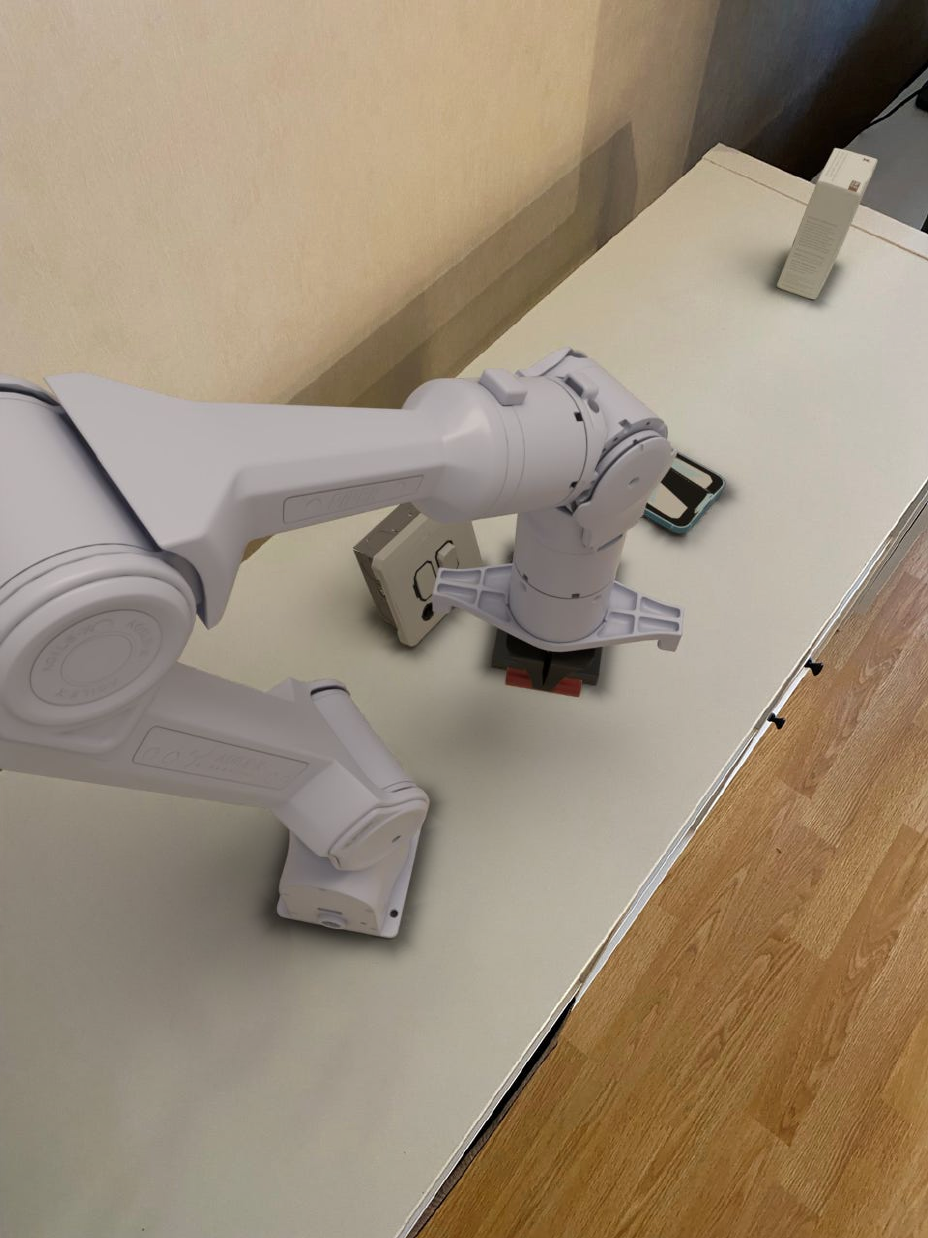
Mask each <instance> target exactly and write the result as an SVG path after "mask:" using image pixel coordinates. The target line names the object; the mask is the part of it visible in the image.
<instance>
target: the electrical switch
mask: <svg viewBox="0 0 928 1238" xmlns="http://www.w3.org/2000/svg"><path fill="white" fill-rule="evenodd" d="M352 549H353V550H352V551H353V554H354V556H355V559H356V561H357V564H358V566H359V568H360V571H361V573H362V576H363V578H364V581H365V584H366V587H367V589H368V591H369V593H370V596H371V598H372V600H373V603H374V606H375V608H376V611H377V613H378V615H379V618H380V620H382V621H384V622H386V623H388V624H390V625H391V626H393V627H394V628H395V629H396V630H397V631H396V633H397V636H398V639H399V641H400V643H402V644H404V645H406V646H409V647H415V646H416V645H418V644H419V643H420V642H421V640H422V639H423V638H425V636H426V635H428V634H429V632H431V630H432V629H434V627H435V626H436V625H437V624H438V623H439V622H440V621H441V620H442V619H443V618H444V617H445V616H446V615H447V614H445V613H439V612H433V597H432V593H433V589H434V585H435V581H436V577H437V573H438V569H439V568H440V567H441V568H449V569H469V568H478V567H485V566H484V561H483V559H482V556H481V551H480V548H479V544H478V541H477V536H476V532H475V529H474V525H473V521H467V522H461V523H454V524H443V523H439V522H436V521H434V520H431V519H429V518H428V517H426V516H425V515H423V514H422V513H421V512H420V511H419V510H417V509H416V508H415V506H414V505H413V504H412V503H411V502H407V503H403V504H398V505H397V506H396V507H395V508H394V509H393V510H392V511H391V512H390V513H389V514H388V515H387V516H385V517H384V518H383V519H382V520H381V521H380V522H379V523H378V524H377V525H375V527H374V528H373V529H371V530H370V531H369V532H368V533H367V534H366V535H365V536H364V537H363V538H362V539H360V540H359V542H357V543H356V544H355V545H354V546H353V547H352ZM382 592H383V593H382ZM453 607H454V606H452V608H453Z"/></svg>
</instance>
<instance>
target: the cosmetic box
mask: <svg viewBox="0 0 928 1238" xmlns="http://www.w3.org/2000/svg"><path fill="white" fill-rule="evenodd" d="M877 164H878V159H877V158H874V157H872V156H869V155H865V154H861V153H858V152H854V151H850V150H847V149H843V148H837V147H834V148H833V149H832V152H831V154H830V156H829V158H828V160H827V162H826V163H825V165H824V167H823V168H822V171H821V173H820V175H819V176H818V178H817V181H816V183H815V185H814V189H813V190H812V194H811V196H810V198H809V201H808V203H807V205H806V207H805V211H804V213H803V216H802V218H801V221H800V224H799V227H798V229H797V231H796V234H795V236H794V239H793V242H792V244H791V247H790V250H789V252H788V255H787V257H786V260H785V263H784V265H783V268H782V271H781V273H780V276H779V278H778V281H777V283H776V287H777V288H779V289H781V290H784V291H785V292H788V293H791V294H794V295H797V296H800V297H803V298H807V299H809V300H816V299H817V298H818V296H819V295H820V293H821V290H822V289H823V287H824V285H825V283H826V281H827V279H828V277H829V275H830V273H831V271H832V269H833V267H834V265H835V262H836V260H837V258H838V257H839V254H840V251H841V249H842V247H843V244H844V242H845V240H846V237H847V234H848V233H849V230H850V227H851V225H852V223H853V221H854V218H855V216H856V213H857V211H858V209H859V207H860V204H861V202H862V200H863V197H864V194H865V193H866V190H867V188H868V186H869V183H870V182H871V181H870V180H871V179H872V176H873V174H874V171H875V169H876V166H877Z"/></svg>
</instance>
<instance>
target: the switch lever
mask: <svg viewBox="0 0 928 1238" xmlns="http://www.w3.org/2000/svg"><path fill="white" fill-rule="evenodd" d="M548 653H549V651H548ZM504 680H505V681H504V685H505V686H509V687H515V688H521V689H526V690H532V691H538V692H543V693H548V694H556V695H560V696H567V697H572V698H580V696H581V691H582V685H583V683H582V680H580V679H574V678H568V677H565V678H563V679H562V680H561V681H560V682H559V683H558V684H557V685H556V687H555V688H554V690H553V691H552V692H549V691H543V690H538V689H533V688H532V684H531V681H530V678H529V676H528V674H527V672H526V670H522V669H516V668H510V667H508V668H507V669H506V673H505V678H504Z"/></svg>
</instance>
